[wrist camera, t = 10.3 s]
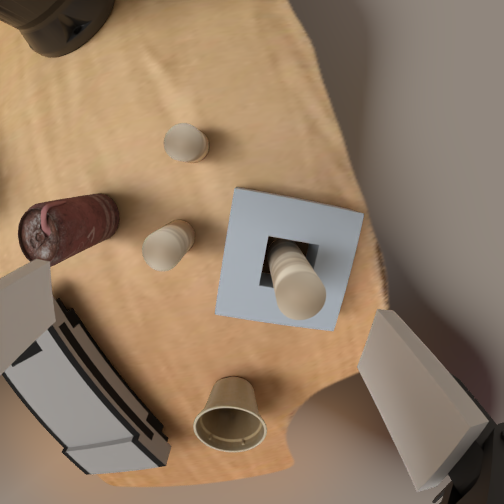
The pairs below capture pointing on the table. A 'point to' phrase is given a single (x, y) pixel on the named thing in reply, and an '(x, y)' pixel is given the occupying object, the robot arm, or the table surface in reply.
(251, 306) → the hole block
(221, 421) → the flower pot
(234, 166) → the table surface
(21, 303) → the robot arm
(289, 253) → the dowel long
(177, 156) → the dowel short
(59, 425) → the game console
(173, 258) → the dowel medium
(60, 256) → the can
